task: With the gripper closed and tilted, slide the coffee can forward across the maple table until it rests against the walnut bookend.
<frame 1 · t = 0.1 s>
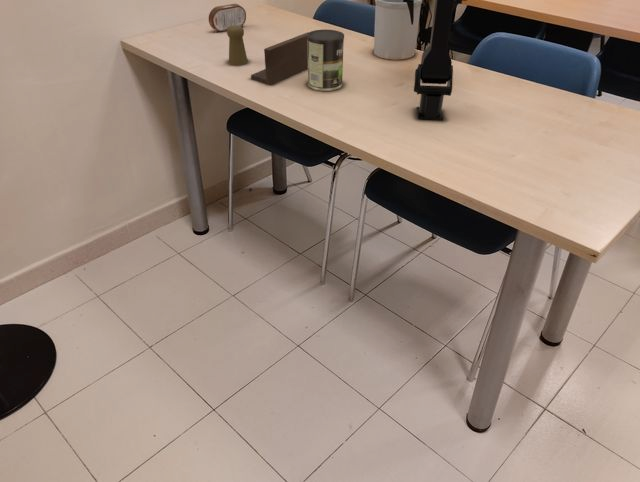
hand: (428, 24, 144), 15 cm above the table, tool pointing down, fingers open, 9 cm apart
walnut bookend: (290, 74, 153), on the table
utensil holder: (393, 53, 169), on the table
coffee can: (324, 85, 147), on the table
tin: (229, 30, 189), on the table
olive green pawn: (238, 62, 161), on the table
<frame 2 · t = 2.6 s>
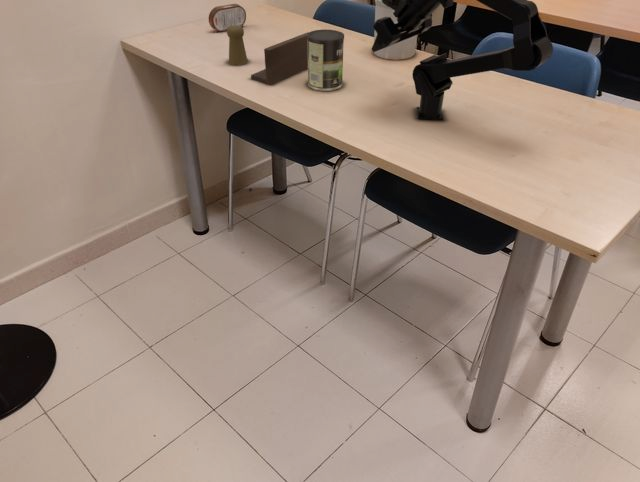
hand: (383, 46, 130), 14 cm above the table, tool tilted 40°, fingers open, 9 cm apart
nothing on the table moved.
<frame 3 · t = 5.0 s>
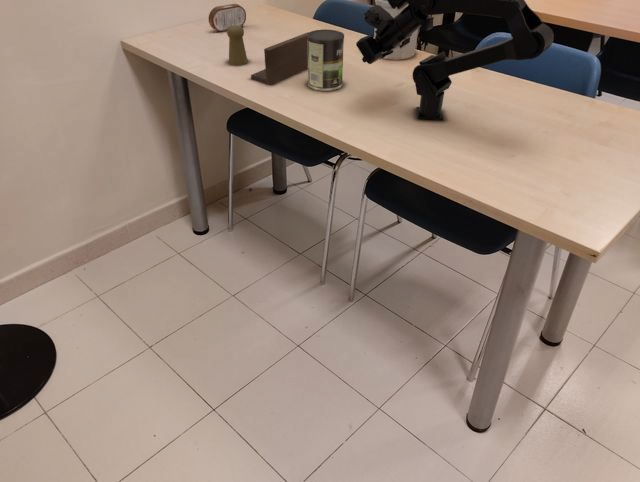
hand: (363, 60, 135), 10 cm above the table, tool tilted 45°, fingers closed
nothing on the table moved.
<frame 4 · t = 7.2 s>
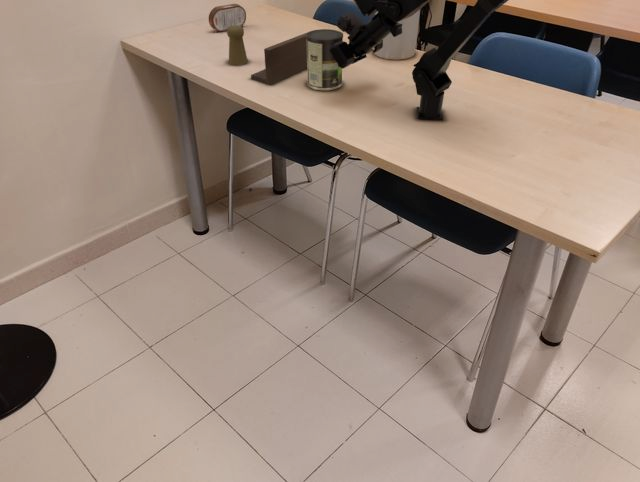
hand: (338, 64, 140), 7 cm above the table, tool tilted 45°, fingers closed, pressing on coffee can
coffee can: (324, 84, 147), on the table, touching gripper
everything else where it was.
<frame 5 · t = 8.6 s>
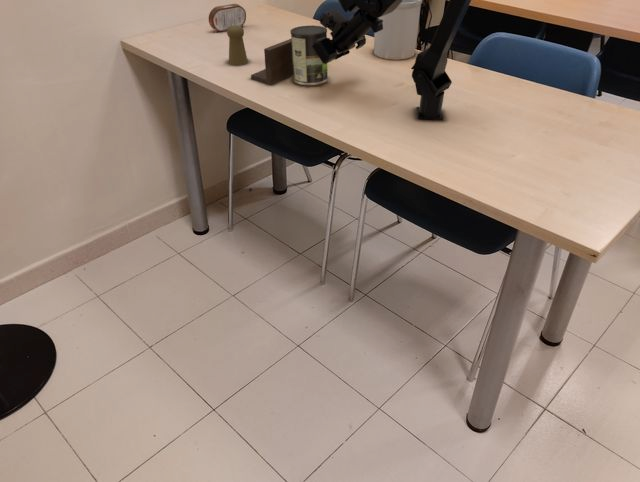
hand: (322, 60, 143), 7 cm above the table, tool tilted 45°, fingers closed, pressing on coffee can
coffee can: (310, 80, 149), on the table, touching gripper
everything else where it was.
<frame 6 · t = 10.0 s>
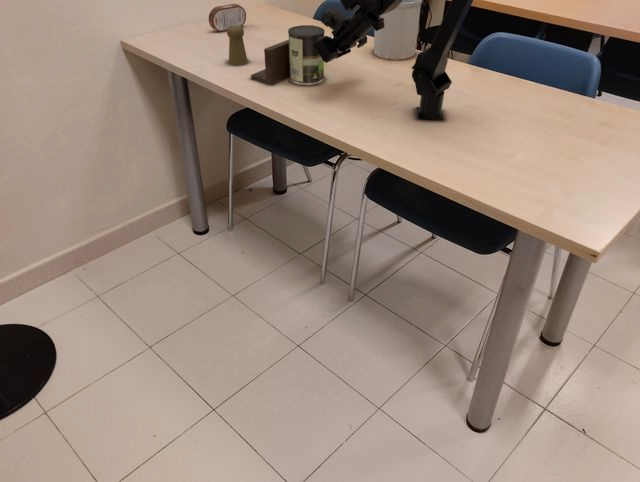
hand: (323, 59, 142), 7 cm above the table, tool tilted 45°, fingers closed
coffee can: (306, 79, 150), on the table
everything else where it was.
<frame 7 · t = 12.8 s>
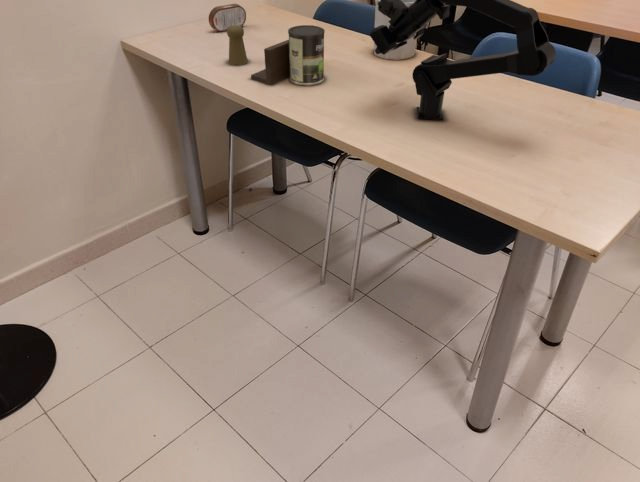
hand: (376, 52, 131), 13 cm above the table, tool tilted 45°, fingers closed
nothing on the table moved.
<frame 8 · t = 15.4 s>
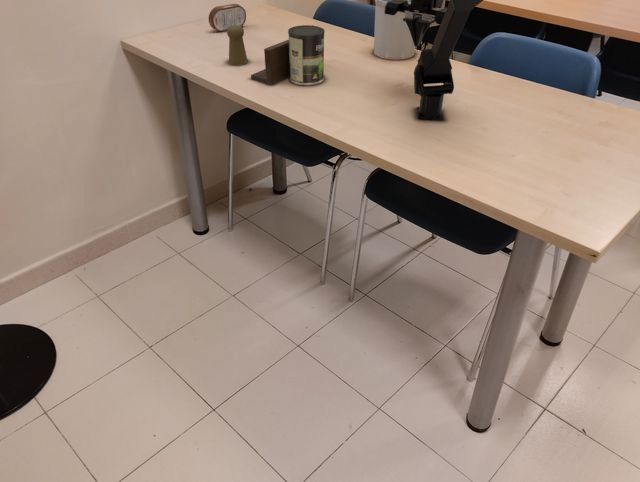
hand: (416, 46, 134), 13 cm above the table, tool pointing down, fingers closed
nothing on the table moved.
at the end: coffee can 6.3 cm from the walnut bookend (horizontally); coffee can tilted 0°; coffee can moved 6.8 cm from its start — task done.
